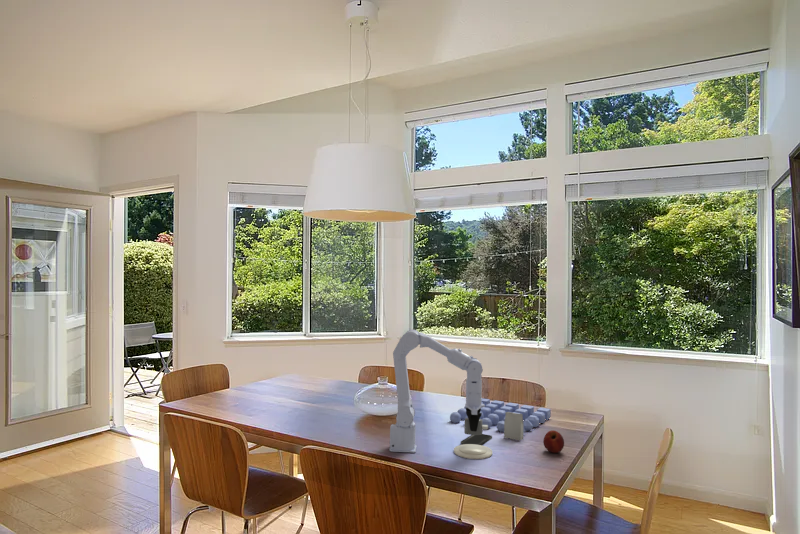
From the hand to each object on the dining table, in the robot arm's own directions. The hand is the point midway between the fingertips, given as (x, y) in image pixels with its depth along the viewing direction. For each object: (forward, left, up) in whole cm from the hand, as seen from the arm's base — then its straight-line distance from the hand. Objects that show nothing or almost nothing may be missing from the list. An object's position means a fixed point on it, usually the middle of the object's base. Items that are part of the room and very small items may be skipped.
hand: (473, 429), depth 189 cm
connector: (0, 0, -1) cm, 1 cm away
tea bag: (+17, +20, -9) cm, 28 cm away
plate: (0, 0, -8) cm, 8 cm away
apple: (+30, +5, -9) cm, 32 cm away
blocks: (+14, +45, -9) cm, 48 cm away
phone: (+2, +14, -9) cm, 17 cm away
